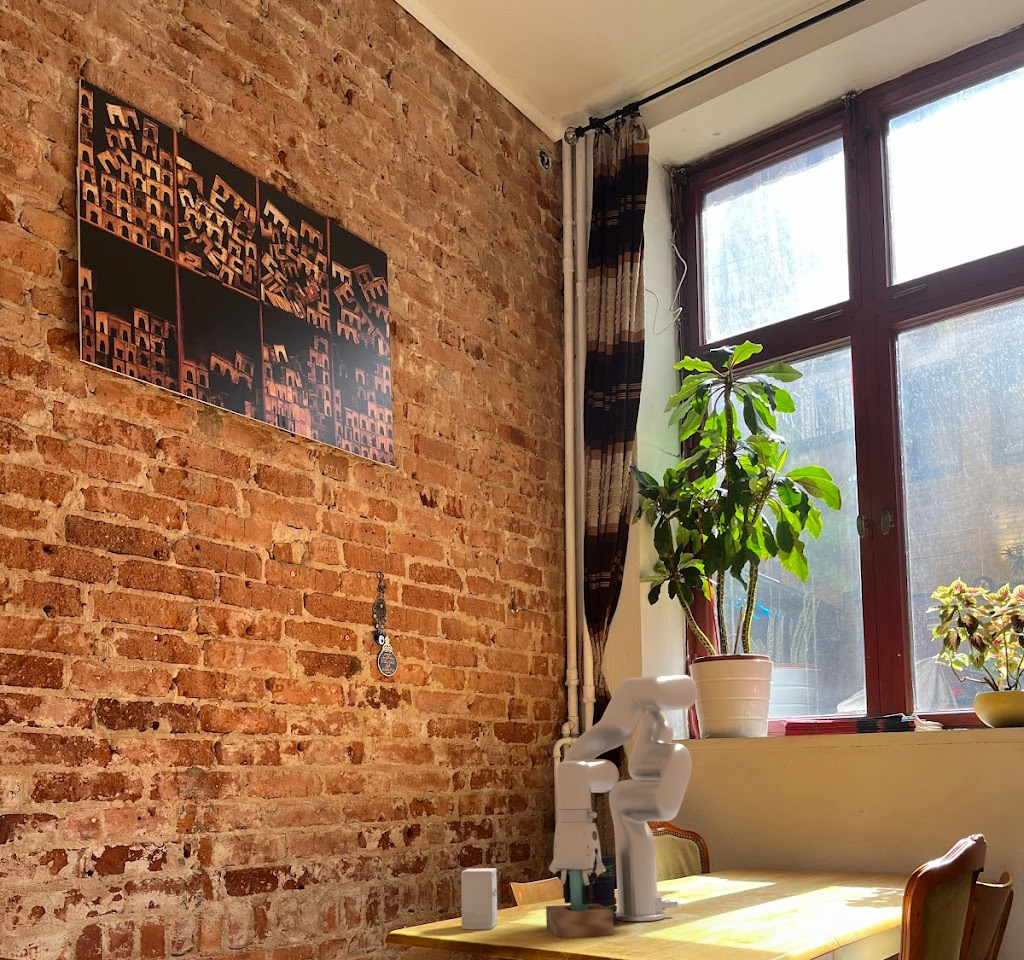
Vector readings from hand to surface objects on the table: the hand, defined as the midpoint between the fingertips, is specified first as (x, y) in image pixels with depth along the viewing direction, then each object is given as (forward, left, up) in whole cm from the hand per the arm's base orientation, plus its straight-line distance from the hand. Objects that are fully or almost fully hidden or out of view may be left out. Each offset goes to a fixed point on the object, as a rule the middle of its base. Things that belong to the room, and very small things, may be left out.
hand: (578, 902), depth 251 cm
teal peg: (0, 0, -5) cm, 5 cm away
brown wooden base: (0, 0, -6) cm, 6 cm away
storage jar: (-7, -11, -6) cm, 15 cm away
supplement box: (+19, -16, -6) cm, 26 cm away
